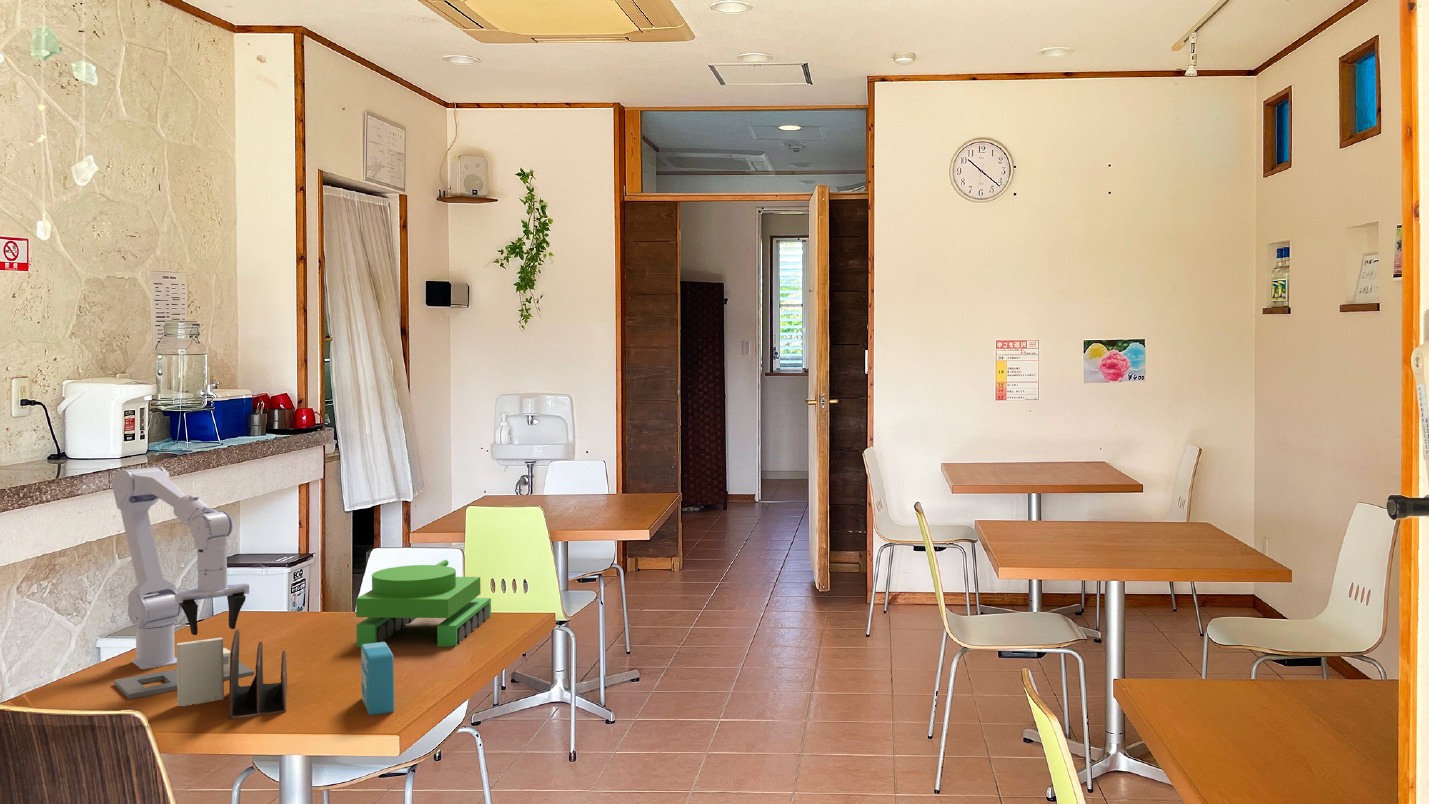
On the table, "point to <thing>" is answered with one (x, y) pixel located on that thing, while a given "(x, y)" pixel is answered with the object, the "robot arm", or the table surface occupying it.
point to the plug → (226, 660)
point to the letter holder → (255, 688)
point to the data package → (377, 678)
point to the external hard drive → (200, 671)
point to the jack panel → (135, 689)
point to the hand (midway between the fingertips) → (213, 631)
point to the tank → (421, 603)
